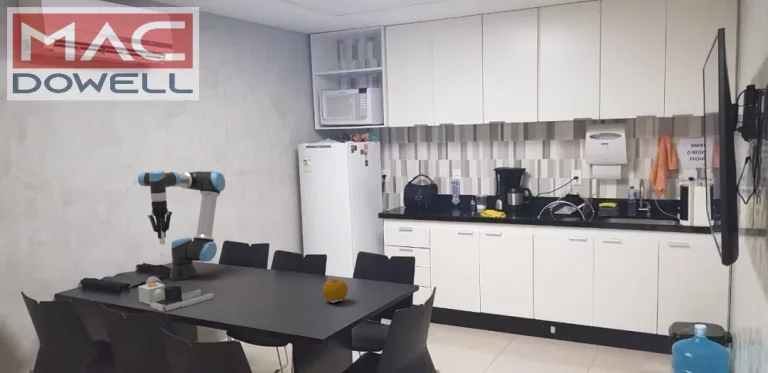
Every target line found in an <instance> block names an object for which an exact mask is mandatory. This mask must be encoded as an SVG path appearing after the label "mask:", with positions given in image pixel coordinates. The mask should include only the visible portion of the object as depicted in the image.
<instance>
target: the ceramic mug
mask: <svg viewBox="0 0 768 373" xmlns="http://www.w3.org/2000/svg"><path fill="white" fill-rule="evenodd" d="M155 282H158V283H161V284H164V283H163V282H162V280H161V279H159V278H158V277H157V276H152V275H151V276H150V277H148V278H147V279H146V281H145V284H144V285H146V284H149V283H155Z"/></svg>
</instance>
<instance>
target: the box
mask: <svg viewBox="0 0 768 373" xmlns="http://www.w3.org/2000/svg"><path fill="white" fill-rule="evenodd" d="M164 292H165V305H168V304H172V303H176V302H179V301H183V300H182V294H183V293H182V285H181V283H180V282H177V283H175V282H174V283H169V284H168V283H167V284H164Z"/></svg>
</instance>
